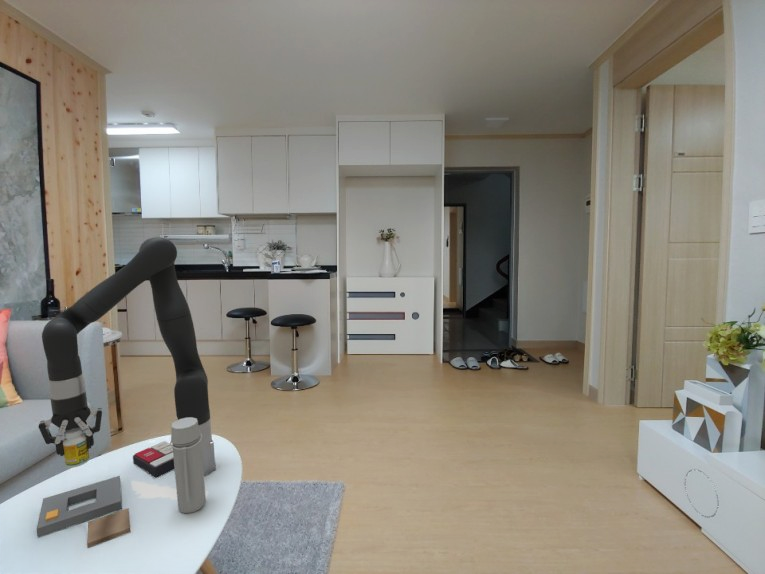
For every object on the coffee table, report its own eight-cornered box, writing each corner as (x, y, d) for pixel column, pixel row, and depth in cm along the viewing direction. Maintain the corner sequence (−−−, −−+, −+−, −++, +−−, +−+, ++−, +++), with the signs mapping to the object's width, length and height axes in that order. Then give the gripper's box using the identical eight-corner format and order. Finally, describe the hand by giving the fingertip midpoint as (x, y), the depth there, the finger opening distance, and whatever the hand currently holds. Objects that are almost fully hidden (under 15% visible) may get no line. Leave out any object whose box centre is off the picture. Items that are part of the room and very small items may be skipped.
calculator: (165, 439, 142) (188, 449, 133) (166, 450, 142) (189, 462, 134) (131, 453, 133) (154, 466, 124) (133, 465, 133) (155, 478, 125)
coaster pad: (128, 511, 110) (128, 507, 110) (130, 532, 103) (130, 527, 102) (88, 525, 105) (88, 521, 105) (87, 548, 97) (86, 543, 97)
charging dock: (120, 483, 122) (119, 473, 122) (122, 509, 111) (121, 498, 111) (44, 506, 112) (43, 496, 112) (37, 537, 101) (36, 526, 100)
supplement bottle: (74, 457, 112) (70, 425, 111) (94, 456, 113) (90, 424, 111) (60, 468, 107) (55, 435, 106) (81, 467, 107) (76, 434, 106)
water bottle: (179, 500, 114) (171, 418, 111) (208, 494, 117) (202, 414, 113) (172, 522, 106) (164, 434, 102) (205, 516, 108) (198, 430, 104)
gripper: (100, 382, 114) (107, 437, 116) (35, 394, 106) (43, 453, 108) (100, 390, 108) (107, 448, 110) (30, 404, 100) (40, 466, 102)
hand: (76, 450), depth 109 cm, fingers closed on supplement bottle, 5 cm apart
